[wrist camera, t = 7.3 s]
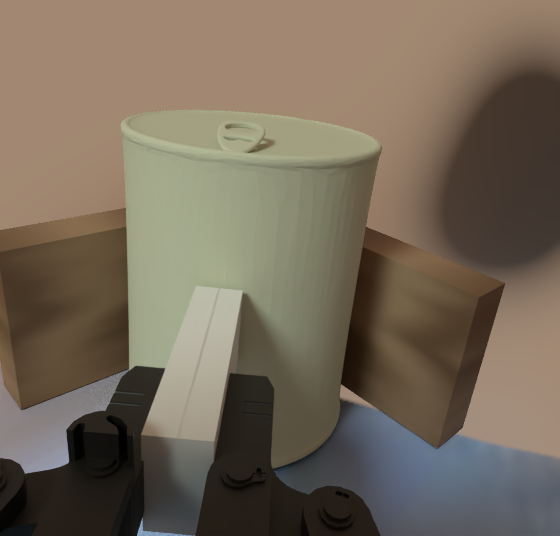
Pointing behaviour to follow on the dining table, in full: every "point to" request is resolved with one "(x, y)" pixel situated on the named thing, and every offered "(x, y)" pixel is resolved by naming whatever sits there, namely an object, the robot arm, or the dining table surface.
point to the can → (251, 247)
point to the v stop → (360, 342)
